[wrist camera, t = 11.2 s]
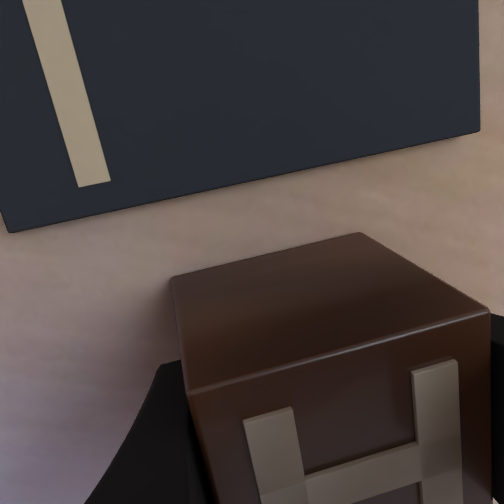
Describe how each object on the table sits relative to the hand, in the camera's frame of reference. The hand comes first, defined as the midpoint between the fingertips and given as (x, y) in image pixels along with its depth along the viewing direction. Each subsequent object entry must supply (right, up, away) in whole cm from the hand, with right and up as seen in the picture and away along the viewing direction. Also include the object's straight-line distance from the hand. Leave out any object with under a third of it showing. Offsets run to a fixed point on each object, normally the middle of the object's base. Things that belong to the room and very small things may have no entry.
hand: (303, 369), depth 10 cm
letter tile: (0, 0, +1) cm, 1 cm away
